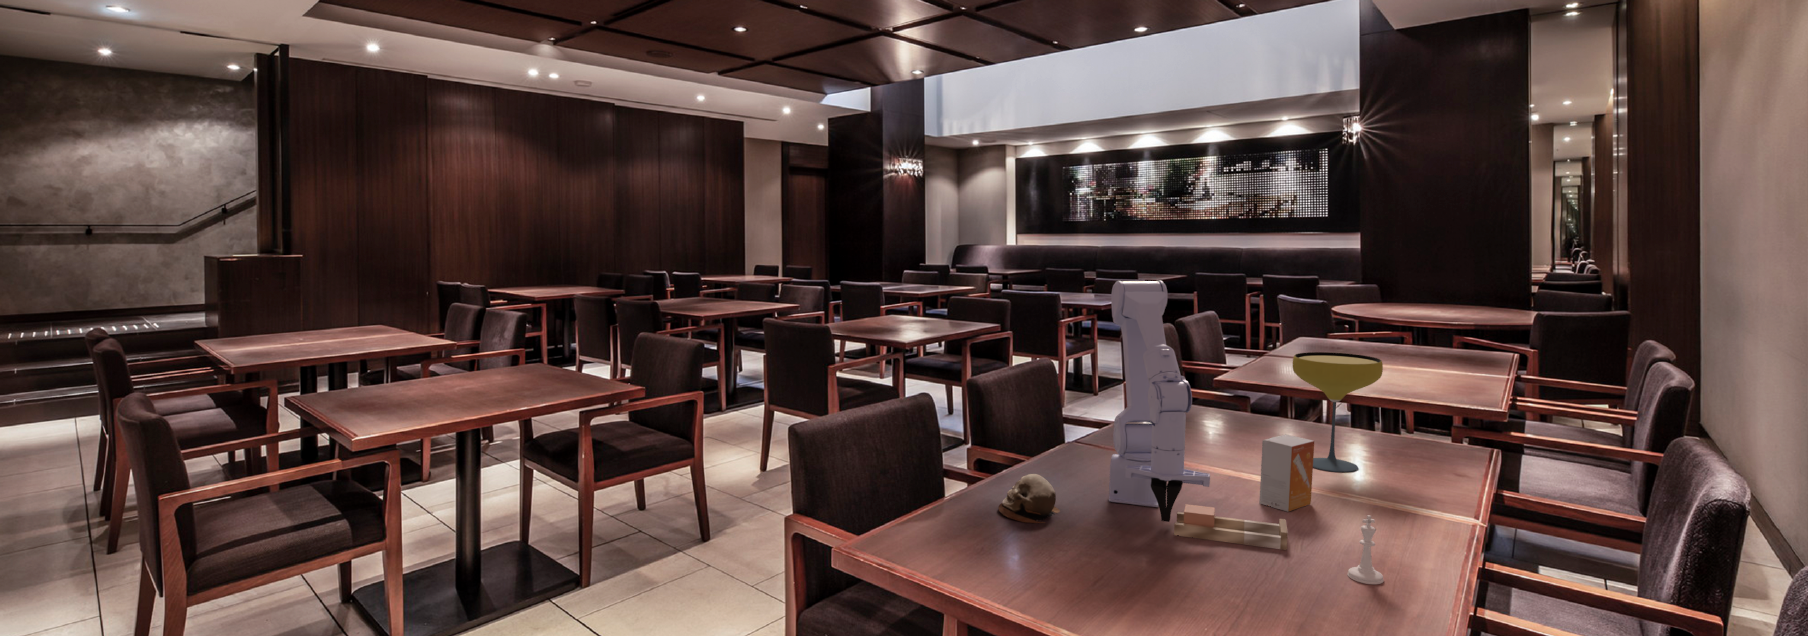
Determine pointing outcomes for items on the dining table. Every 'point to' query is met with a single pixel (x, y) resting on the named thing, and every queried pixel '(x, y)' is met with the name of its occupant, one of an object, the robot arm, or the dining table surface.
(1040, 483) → the skull
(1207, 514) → the block
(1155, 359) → the robot arm
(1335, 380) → the cocktail glass
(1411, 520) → the dining table surface
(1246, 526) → the chute
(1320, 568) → the dining table surface
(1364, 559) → the chess piece
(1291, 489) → the small box
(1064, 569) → the dining table surface
